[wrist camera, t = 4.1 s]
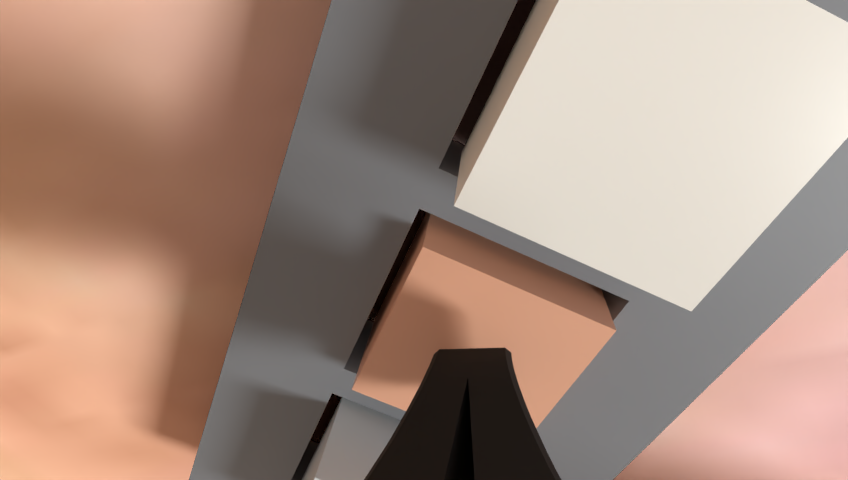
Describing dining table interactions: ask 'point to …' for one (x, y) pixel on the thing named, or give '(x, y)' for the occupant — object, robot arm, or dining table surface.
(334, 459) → the grey key
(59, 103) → the dining table surface
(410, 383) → the terracotta key
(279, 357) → the key board
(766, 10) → the cream key
